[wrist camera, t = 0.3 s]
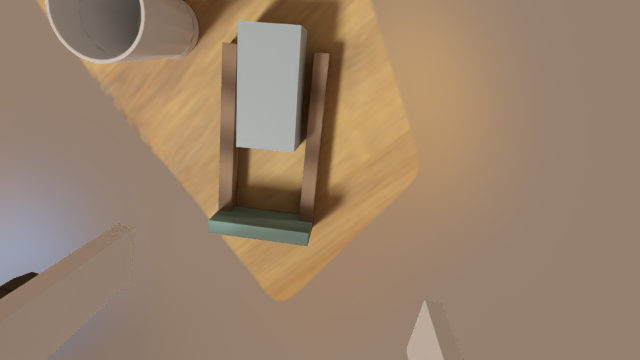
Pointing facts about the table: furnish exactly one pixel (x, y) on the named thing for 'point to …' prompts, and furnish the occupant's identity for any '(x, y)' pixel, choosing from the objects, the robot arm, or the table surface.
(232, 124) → the brown green u-shaped frame
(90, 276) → the robot arm
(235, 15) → the table surface
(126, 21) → the cup
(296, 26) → the block
